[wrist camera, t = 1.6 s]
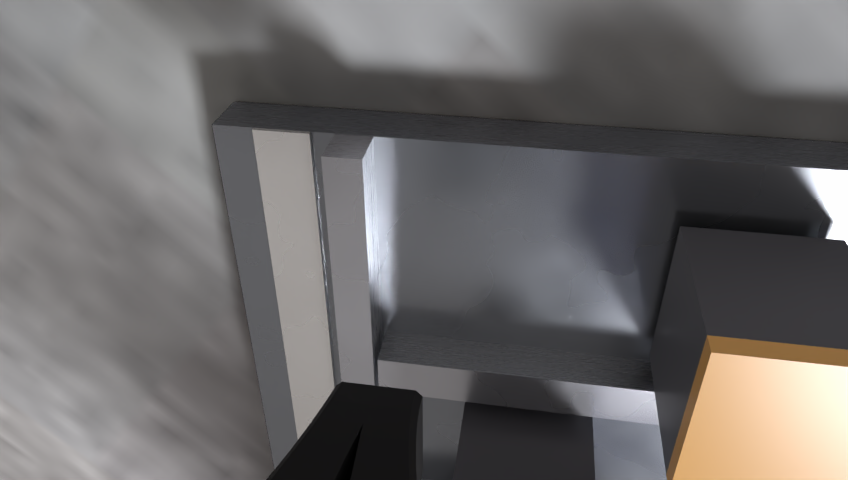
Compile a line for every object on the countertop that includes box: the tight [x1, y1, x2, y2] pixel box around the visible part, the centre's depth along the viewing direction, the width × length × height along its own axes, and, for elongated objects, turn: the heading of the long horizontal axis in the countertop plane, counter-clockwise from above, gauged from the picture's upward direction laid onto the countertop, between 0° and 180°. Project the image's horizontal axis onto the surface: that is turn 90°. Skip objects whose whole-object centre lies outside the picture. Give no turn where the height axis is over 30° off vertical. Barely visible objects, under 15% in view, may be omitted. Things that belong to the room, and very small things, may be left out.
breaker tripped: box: [649, 226, 848, 480], centre depth 13 cm, size 3×3×4 cm
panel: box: [212, 102, 848, 480], centre depth 18 cm, size 16×20×2 cm
